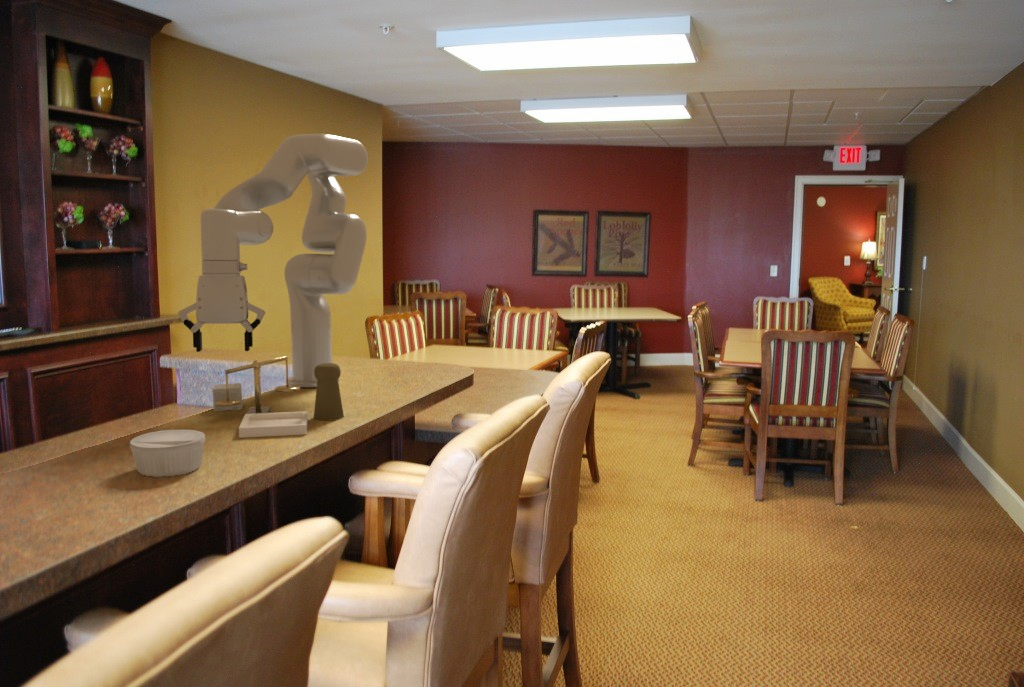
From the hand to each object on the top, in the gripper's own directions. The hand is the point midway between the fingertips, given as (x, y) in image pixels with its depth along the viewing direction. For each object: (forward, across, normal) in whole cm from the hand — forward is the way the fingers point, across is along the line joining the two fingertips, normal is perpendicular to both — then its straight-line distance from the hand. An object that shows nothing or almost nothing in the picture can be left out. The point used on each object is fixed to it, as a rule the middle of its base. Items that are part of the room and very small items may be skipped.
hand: (223, 350), depth 178 cm
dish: (+13, -12, +20) cm, 26 cm away
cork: (+12, -22, +12) cm, 28 cm away
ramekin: (+14, +3, +45) cm, 47 cm away
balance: (+12, -8, +8) cm, 17 cm away
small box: (+13, 0, -1) cm, 13 cm away
